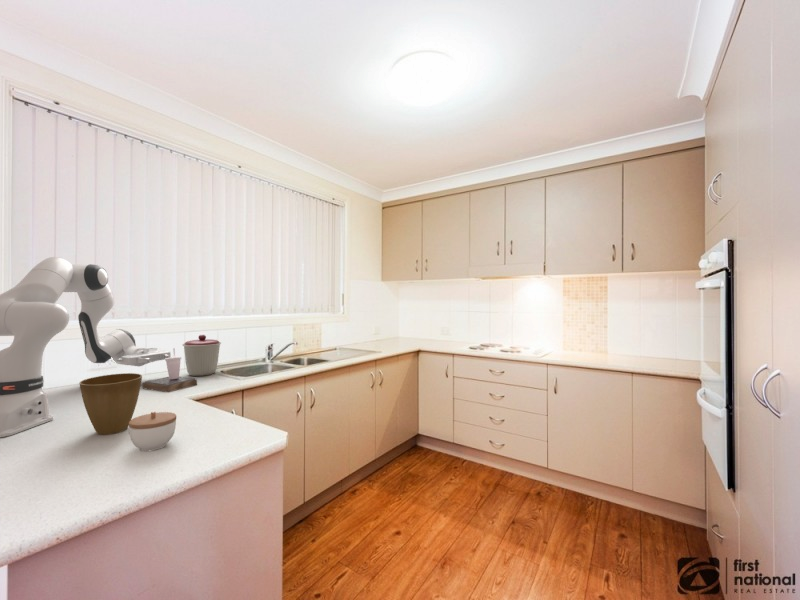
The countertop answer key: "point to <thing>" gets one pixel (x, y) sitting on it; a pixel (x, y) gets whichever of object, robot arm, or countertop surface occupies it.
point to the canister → (201, 356)
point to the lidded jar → (152, 430)
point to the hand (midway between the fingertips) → (158, 358)
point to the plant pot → (111, 401)
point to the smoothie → (173, 366)
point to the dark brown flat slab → (169, 383)
